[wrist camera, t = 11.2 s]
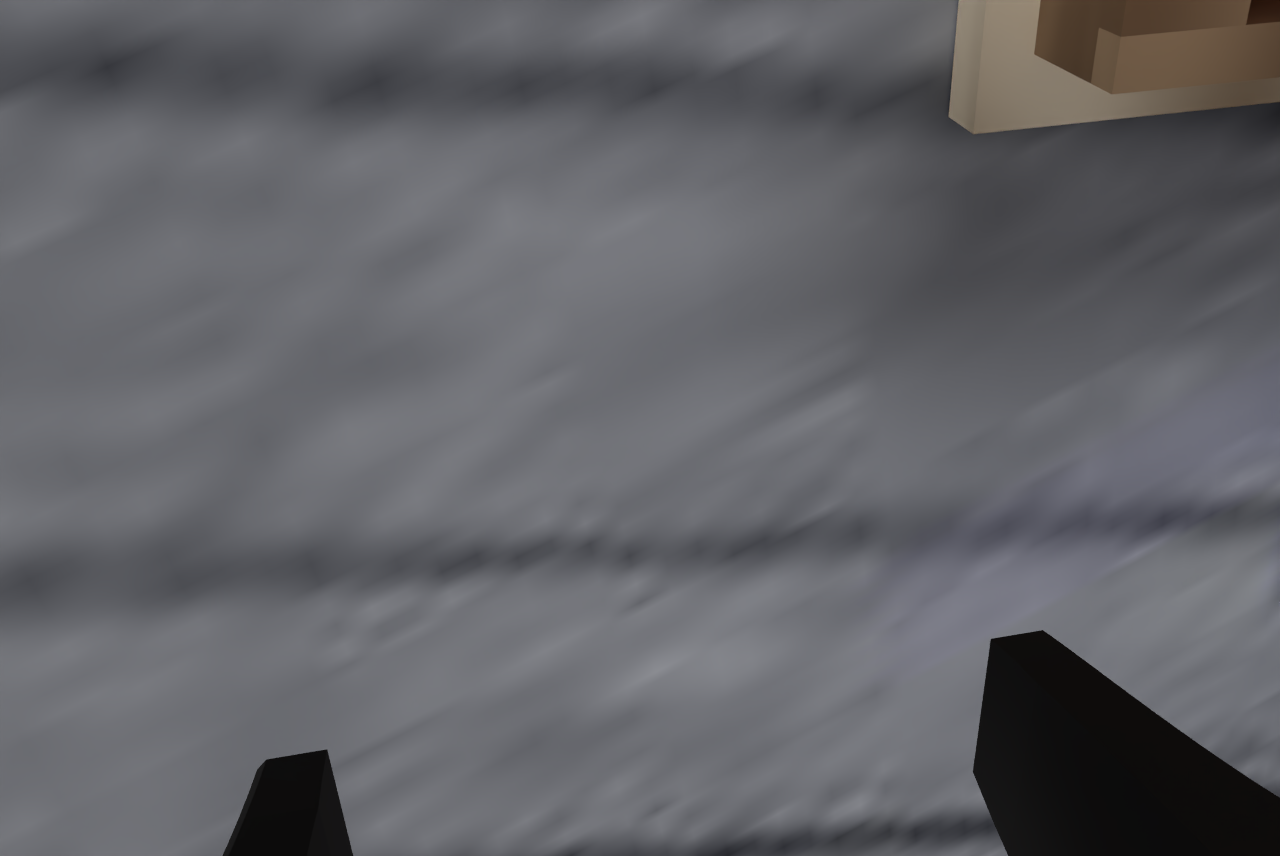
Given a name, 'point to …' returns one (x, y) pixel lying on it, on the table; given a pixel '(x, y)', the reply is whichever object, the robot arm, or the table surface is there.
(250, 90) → the table surface
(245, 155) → the table surface
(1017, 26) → the keyhole board
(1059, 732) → the robot arm
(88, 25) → the table surface
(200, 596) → the table surface
